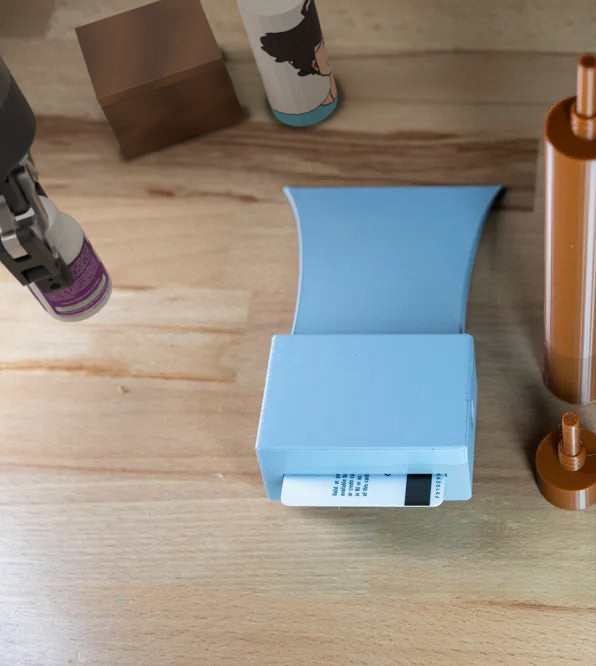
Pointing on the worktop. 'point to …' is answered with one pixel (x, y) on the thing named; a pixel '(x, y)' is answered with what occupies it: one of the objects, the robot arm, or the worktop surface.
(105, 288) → the pill bottle
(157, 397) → the worktop surface
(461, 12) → the worktop surface
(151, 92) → the wooden lidded box
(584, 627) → the worktop surface
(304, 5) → the cup
